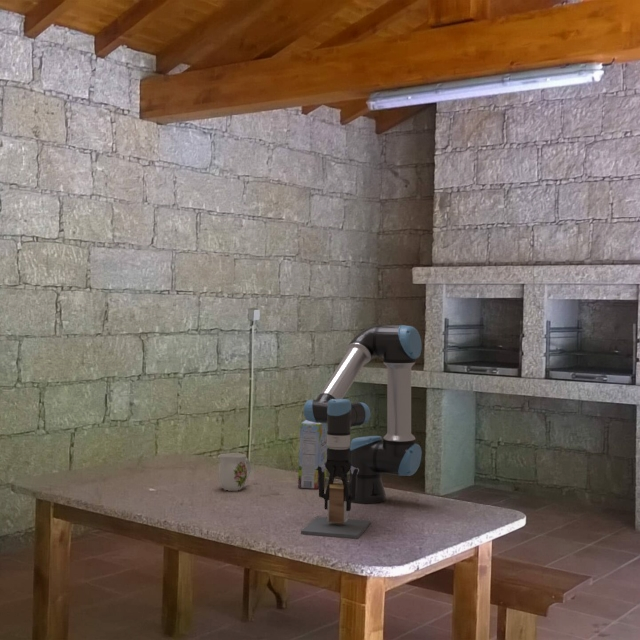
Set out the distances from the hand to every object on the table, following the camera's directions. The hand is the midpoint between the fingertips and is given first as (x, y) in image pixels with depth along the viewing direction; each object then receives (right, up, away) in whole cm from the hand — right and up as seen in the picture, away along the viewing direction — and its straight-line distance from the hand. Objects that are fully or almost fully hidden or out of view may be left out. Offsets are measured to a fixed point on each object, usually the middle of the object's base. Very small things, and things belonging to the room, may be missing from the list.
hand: (337, 520), depth 277 cm
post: (0, 0, 0) cm, 0 cm away
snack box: (-8, -2, +71) cm, 71 cm away
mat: (0, -3, 0) cm, 3 cm away
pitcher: (-39, -2, +59) cm, 70 cm away
